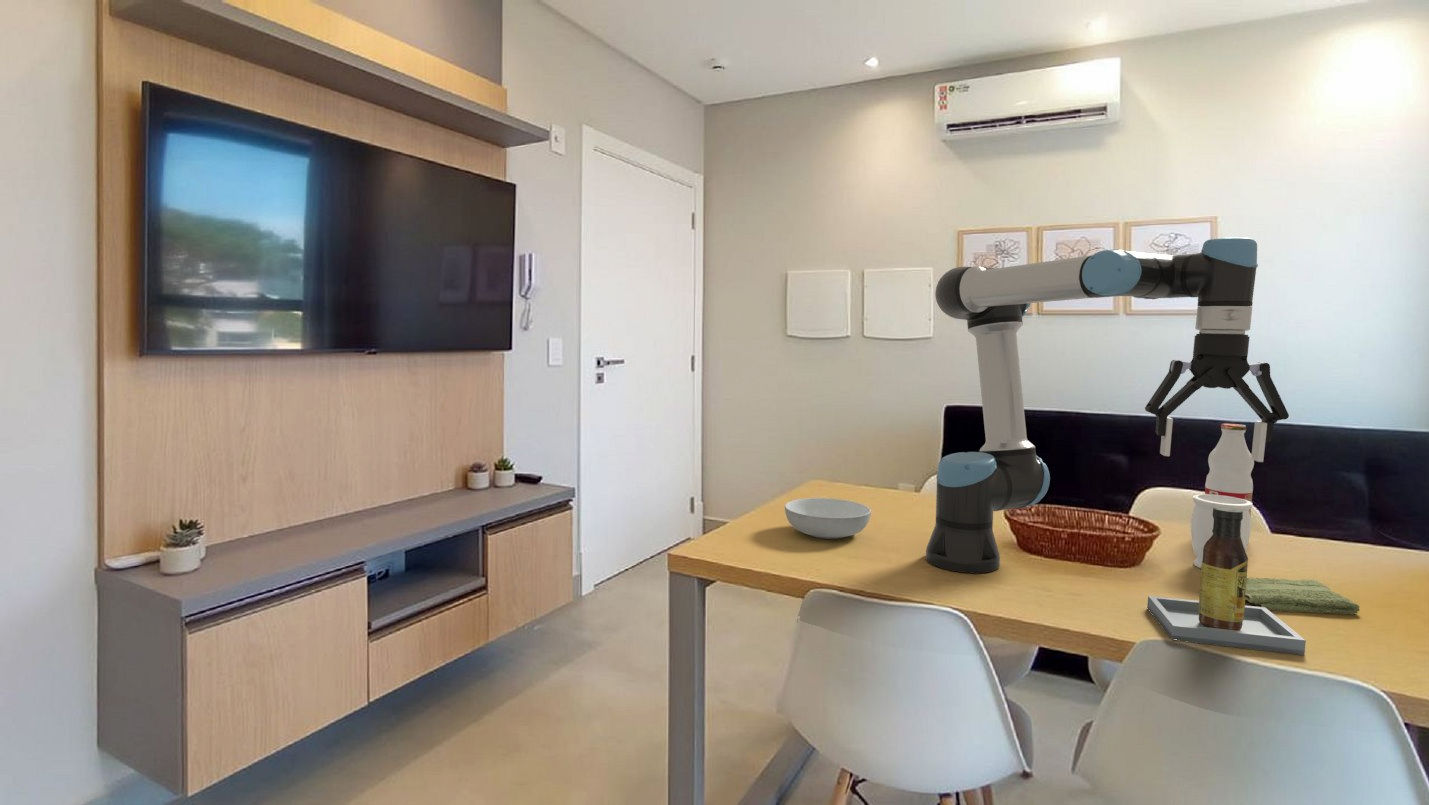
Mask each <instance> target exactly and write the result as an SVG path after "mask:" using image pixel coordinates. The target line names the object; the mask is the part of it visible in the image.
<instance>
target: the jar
mask: <svg viewBox="0 0 1429 805" xmlns="http://www.w3.org/2000/svg"><path fill="white" fill-rule="evenodd" d="M1192 501H1193V503H1195V504H1194V506H1193V508H1192V513H1191V517H1190V534H1191V544H1192V546H1191V547H1192V549H1193V550H1192V551H1193V553H1194V555H1195V556H1196V558H1194V560H1193V562H1192V563H1193V565H1194V566H1196V567H1197V568H1199V569H1201V565H1202V561H1203V548H1204V545H1205V544H1206V542H1207V541H1208V540H1209V539H1210V538H1211V536H1212V535H1213V532H1212V530H1213V524H1214V518H1213V508H1214V507H1228V508H1235V509H1239V510H1242V511H1243V519H1242V520H1241V529H1240V533H1241V535H1240V536H1241V540H1242V543H1243V546H1244V549H1245V552H1246V551H1247V548H1248V545H1249V542H1250V537H1251V528H1252V527H1251V526H1252V524H1251V516H1250V514H1249V509H1251V510H1252V508H1253V501H1252V502H1250V501H1247V500H1244V499H1240V498H1235V497H1230V496H1223V495H1211V494H1205V493H1204V494H1194V495H1193V496H1192Z"/></svg>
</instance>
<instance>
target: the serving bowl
mask: <svg viewBox="0 0 1429 805" xmlns="http://www.w3.org/2000/svg"><path fill="white" fill-rule="evenodd" d="M784 512H785V515H786V520H787V522H789V524H790V525H791V526H792V527H793V529H795V530H797V531H798V532H800V533H803V534H806V535H808V536H811V537H814V538H817V539H818V538H819V539H825V540H826V539H827V540H832V539H833V540H834V539H835V540H836V539H842V538H845V537H846V538H847V537H851V536H853V535H856V534H858V533H860V532H862V531H863V530H864V529H865V528H866V527H867V525H868V523H869V522H870V518H871V515H872V509H871V508H870V507H869V506H868V505H865V504H862V503H859V502H856V501H852V500H846V499H842V498H841V499H840V498H831V497H830V498H828V497H807V498H799V499H793V500H790V501H788V502H786V503H785V504H784Z"/></svg>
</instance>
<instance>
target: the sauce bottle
mask: <svg viewBox="0 0 1429 805" xmlns="http://www.w3.org/2000/svg"><path fill="white" fill-rule="evenodd" d="M1213 518H1214V524H1213V530H1212V532H1213V535H1212V536H1211V538H1210V539H1209V540H1208V541H1207V542H1206V544H1205V545H1204V548H1203V561H1202V565H1201V568H1200V583H1199V595H1198V596H1199V598H1198V599H1199V600H1198V601H1199V610H1198V611H1199V613H1200V614H1199V621H1200V622H1201V623H1202V624H1204V625H1205V626H1207V627H1210V628H1218V629H1227V630H1236V631H1238V630H1240V629H1241V628H1242V625H1243V624H1242V622H1243V620H1244V609H1245V606H1246V599H1245V596H1246V583H1247V578H1248V568H1249V564H1248V562H1249V558H1248V554H1247V553H1246V552H1245V549H1244V546H1243V543H1242V540H1241V536H1240V535H1241V533H1240V529H1241V520H1242V519H1243V511H1242V510H1239V509H1235V508H1228V507H1214V508H1213Z"/></svg>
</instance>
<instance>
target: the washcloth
mask: <svg viewBox="0 0 1429 805" xmlns="http://www.w3.org/2000/svg"><path fill="white" fill-rule="evenodd" d="M1245 601H1247V602H1249V603H1250V604H1253V605H1255V606H1256V607H1265V608H1267V609H1268V610H1269V611H1273V612H1276V611H1277V612H1289V611H1292V612H1293V613H1294V612H1295V613H1296V612H1297V613H1310V614H1325V613H1326V615H1327V613H1329V614H1328V615H1330V613H1333V614H1332V615H1346V616H1347V615H1348V616H1349V615H1350V616H1353V615H1354V614H1358V612H1359V611H1360V608H1361V607H1360V605H1359V604H1358V603H1356V602H1354V601H1353V600H1352V599H1350V598H1348V597H1345V596H1344V595H1341V594H1339V593H1337V592H1335V591H1333V590H1331V588H1329V587H1328V586H1326V585H1324V583H1322V582H1320V581H1318V580H1315V579H1310V578H1308V579H1307V578H1305V579H1288V578H1275V577H1274V578H1262V577H1255V578H1254V577H1247V583H1246V596H1245ZM1280 610H1281V611H1280Z"/></svg>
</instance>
